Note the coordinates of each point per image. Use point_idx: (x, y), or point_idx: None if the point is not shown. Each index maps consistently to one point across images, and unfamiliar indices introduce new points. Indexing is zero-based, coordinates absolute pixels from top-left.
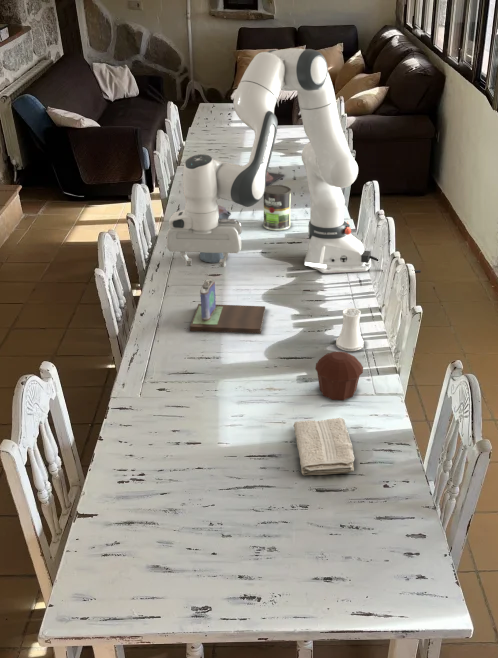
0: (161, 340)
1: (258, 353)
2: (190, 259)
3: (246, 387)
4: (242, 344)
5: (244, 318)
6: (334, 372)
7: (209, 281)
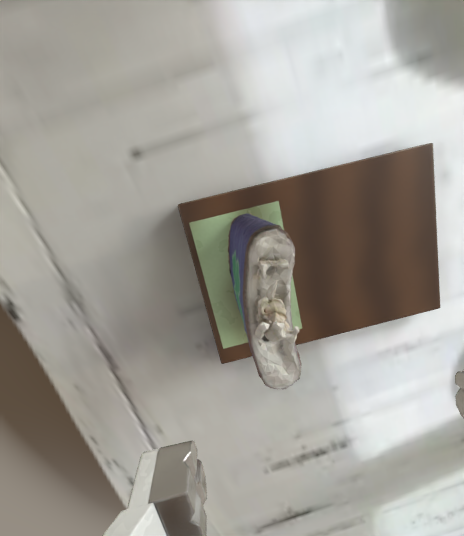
0: (165, 424)
1: (437, 394)
2: (189, 516)
3: (432, 513)
4: (388, 370)
5: (377, 260)
6: None
7: (276, 282)
